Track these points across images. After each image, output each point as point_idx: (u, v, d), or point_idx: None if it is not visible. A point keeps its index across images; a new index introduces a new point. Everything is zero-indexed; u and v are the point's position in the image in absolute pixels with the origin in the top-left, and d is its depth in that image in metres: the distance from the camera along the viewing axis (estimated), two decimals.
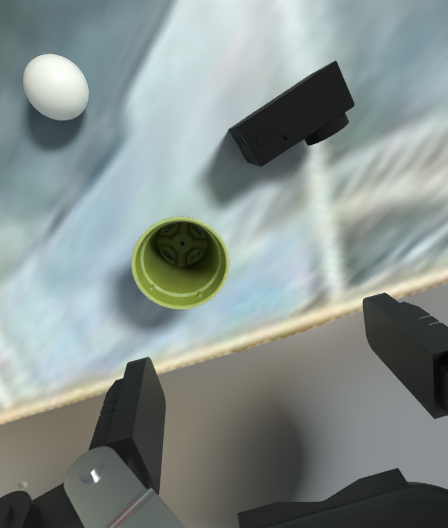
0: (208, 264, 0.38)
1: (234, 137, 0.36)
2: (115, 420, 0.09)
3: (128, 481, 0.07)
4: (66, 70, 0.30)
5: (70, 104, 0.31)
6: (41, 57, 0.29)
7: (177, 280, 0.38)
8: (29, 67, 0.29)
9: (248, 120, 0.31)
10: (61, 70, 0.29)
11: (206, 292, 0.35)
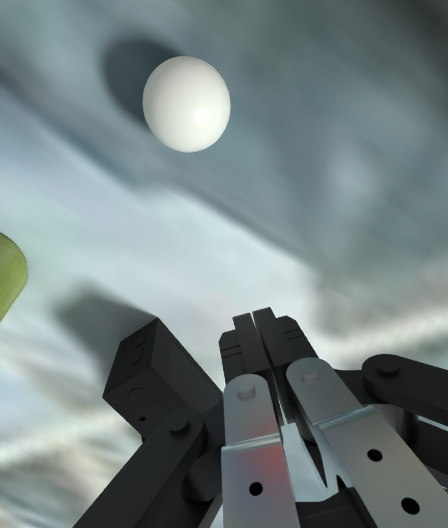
0: None
1: (147, 329, 0.28)
2: (246, 357, 0.10)
3: (268, 417, 0.08)
4: (208, 132, 0.20)
5: (163, 131, 0.20)
6: (224, 96, 0.20)
7: None
8: (209, 75, 0.19)
9: (159, 376, 0.23)
10: (207, 126, 0.20)
11: None
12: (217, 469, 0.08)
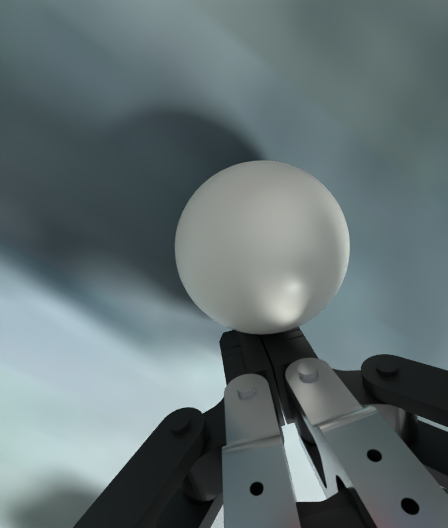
0: None
1: None
2: (247, 357, 0.10)
3: (269, 417, 0.08)
4: (308, 319, 0.10)
5: (217, 315, 0.10)
6: (347, 250, 0.10)
7: None
8: (328, 217, 0.09)
9: None
10: (311, 313, 0.10)
11: None
12: (218, 469, 0.08)
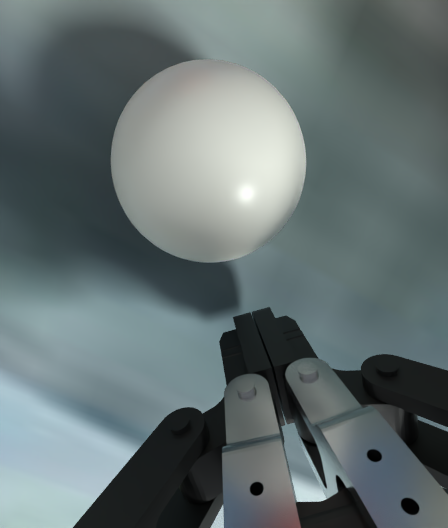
0: None
1: None
2: (247, 357, 0.10)
3: (268, 417, 0.08)
4: None
5: None
6: None
7: None
8: None
9: None
10: None
11: None
12: (218, 469, 0.08)
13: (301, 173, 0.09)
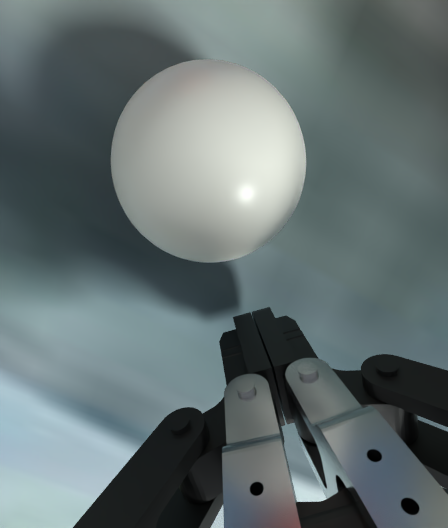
0: None
1: None
2: (247, 357, 0.10)
3: (268, 417, 0.08)
4: None
5: None
6: None
7: None
8: None
9: None
10: None
11: None
12: (218, 469, 0.08)
13: (301, 173, 0.09)
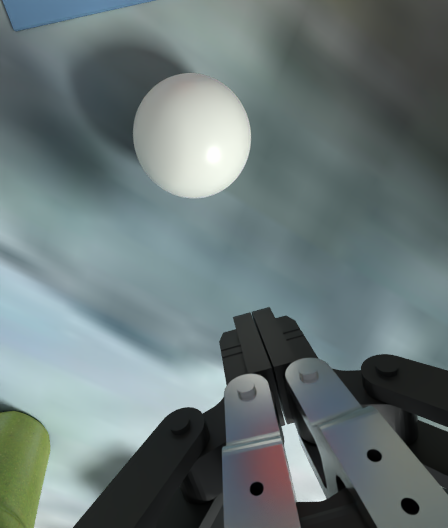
0: None
1: None
2: (247, 357, 0.10)
3: (268, 417, 0.08)
4: None
5: None
6: None
7: None
8: None
9: None
10: None
11: None
12: (218, 469, 0.08)
13: (245, 141, 0.15)
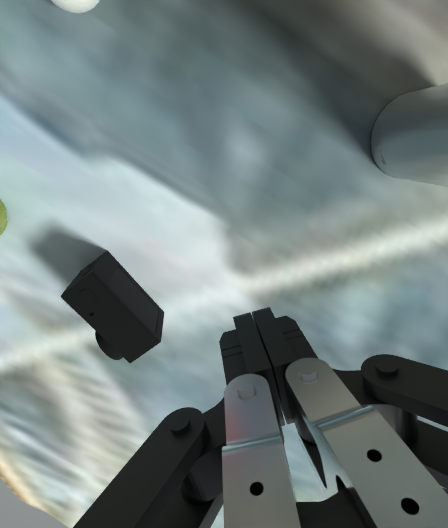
0: None
1: (98, 258, 0.38)
2: (247, 357, 0.10)
3: (269, 417, 0.08)
4: None
5: None
6: None
7: None
8: None
9: (100, 280, 0.33)
10: None
11: None
12: (218, 469, 0.08)
13: None
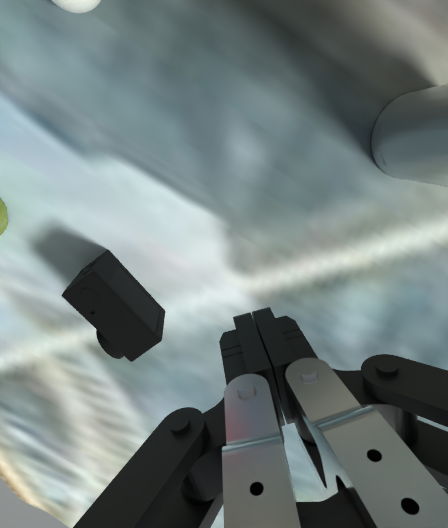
0: None
1: (99, 257, 0.38)
2: (247, 357, 0.10)
3: (269, 417, 0.08)
4: None
5: None
6: None
7: None
8: None
9: (100, 279, 0.33)
10: None
11: None
12: (218, 469, 0.08)
13: None
